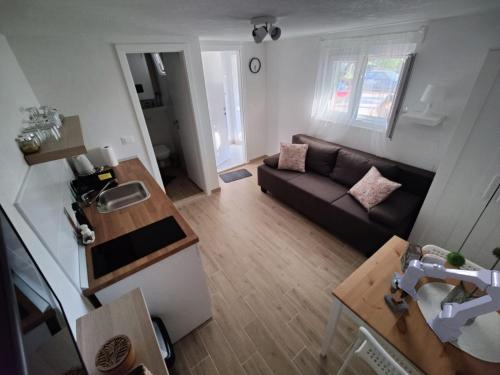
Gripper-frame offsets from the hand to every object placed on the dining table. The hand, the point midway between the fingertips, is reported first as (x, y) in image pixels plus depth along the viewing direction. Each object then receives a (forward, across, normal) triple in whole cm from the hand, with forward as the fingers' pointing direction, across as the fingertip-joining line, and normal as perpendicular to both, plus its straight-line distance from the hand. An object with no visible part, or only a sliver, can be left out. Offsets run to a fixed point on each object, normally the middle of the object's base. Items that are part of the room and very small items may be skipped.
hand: (400, 295), depth 112 cm
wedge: (+3, 0, 0) cm, 4 cm away
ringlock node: (+8, -4, +4) cm, 10 cm away
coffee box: (+8, -20, +23) cm, 32 cm away
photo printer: (+8, -15, +34) cm, 38 cm away
